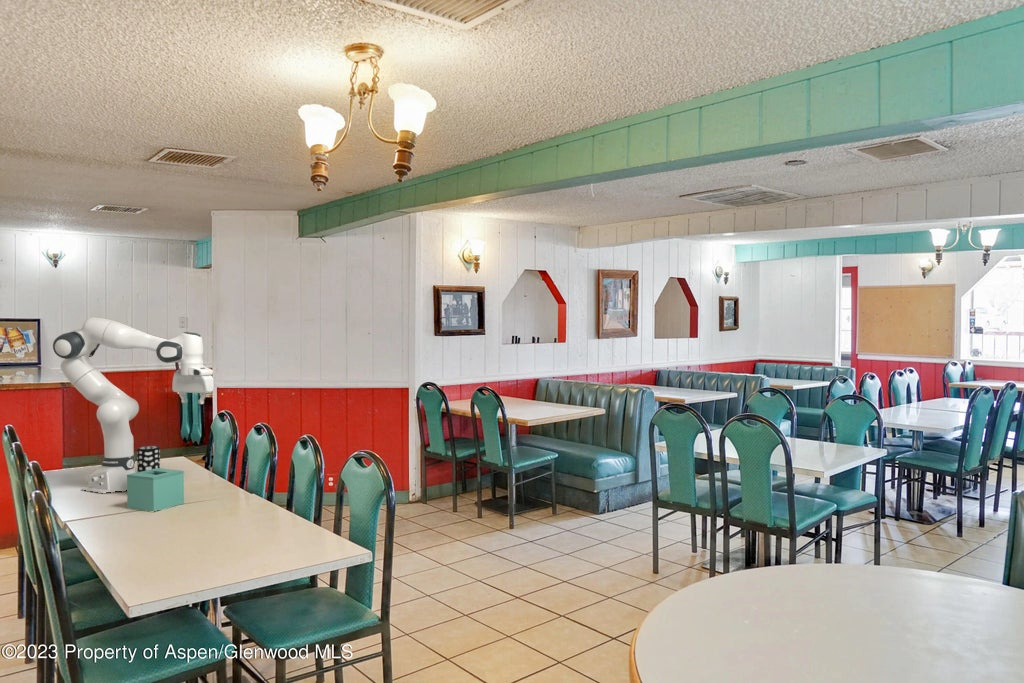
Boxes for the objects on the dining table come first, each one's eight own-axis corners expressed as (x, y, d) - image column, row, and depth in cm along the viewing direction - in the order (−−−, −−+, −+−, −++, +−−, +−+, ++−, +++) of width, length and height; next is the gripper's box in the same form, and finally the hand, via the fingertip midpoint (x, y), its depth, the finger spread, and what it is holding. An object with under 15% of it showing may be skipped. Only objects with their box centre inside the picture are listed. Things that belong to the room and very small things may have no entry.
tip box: (127, 508, 280) (126, 474, 280) (158, 500, 293) (157, 468, 292) (153, 512, 274) (153, 477, 274) (184, 503, 287) (183, 470, 287)
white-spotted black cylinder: (165, 494, 302) (164, 446, 302) (149, 499, 295) (148, 449, 294) (149, 493, 305) (148, 445, 305) (133, 497, 297) (132, 448, 297)
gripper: (168, 370, 309) (168, 403, 309) (204, 371, 301) (204, 405, 301) (180, 369, 315) (180, 401, 315) (216, 370, 307) (216, 403, 307)
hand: (192, 403), depth 308 cm, fingers open, 8 cm apart
